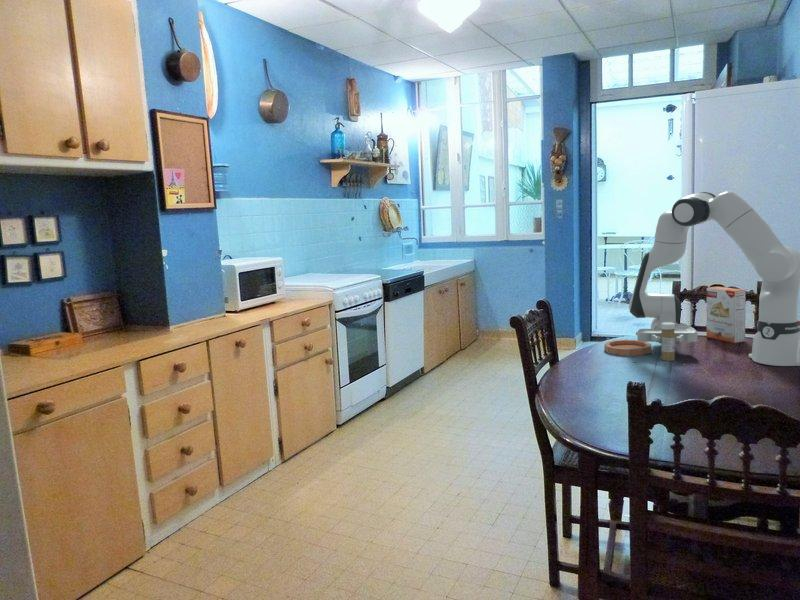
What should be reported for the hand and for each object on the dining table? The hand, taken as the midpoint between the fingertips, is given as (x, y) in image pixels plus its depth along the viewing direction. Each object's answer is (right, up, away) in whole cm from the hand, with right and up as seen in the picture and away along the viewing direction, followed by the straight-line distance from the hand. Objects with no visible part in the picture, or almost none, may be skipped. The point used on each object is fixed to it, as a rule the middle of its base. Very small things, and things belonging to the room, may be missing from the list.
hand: (668, 339), depth 214 cm
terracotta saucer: (-7, -5, +19) cm, 21 cm away
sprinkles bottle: (+1, -7, +2) cm, 8 cm away
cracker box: (+35, -2, +26) cm, 44 cm away
